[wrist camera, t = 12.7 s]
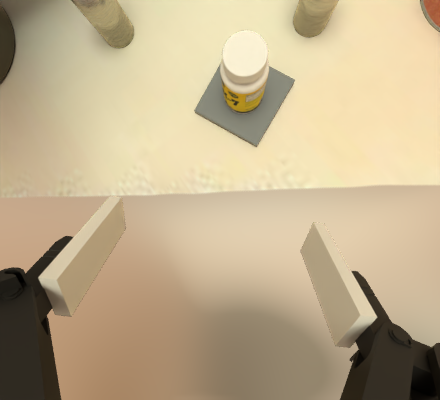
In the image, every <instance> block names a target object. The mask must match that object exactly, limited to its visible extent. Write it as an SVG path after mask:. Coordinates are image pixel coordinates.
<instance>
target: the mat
mask: <svg viewBox="0 0 440 400" xmlns="http://www.w3.org/2000/svg"><path fill="white" fill-rule="evenodd" d="M220 65H221V64H220ZM294 81H295V80H294V79H292V78H290V77H289V76H287V75H285V74H283V73H281V72H279V71H277V70H275V69H273V68H272V67H270V66H269V73H268V78H267V82H266V86H265V90H264V94H263V98H262V101H261V103H260V105H259V106H258V107H257V108H256V109H255V110H254V111H252V112H250V113H247V114H238V113H235V112H234V111H232V110H231V109H230V108H229V107H228V106H227V104H226V102H225V99H224V93H223V87H222V81H221V75H220V66H219V67H218V69H217V71H216V73H215V75H214V76H213V78H212V80H211V82H210V84H209V85H208V87H207V89H206V91H205V93H204V94H203V96H202V98H201V100H200V102H199V103H198V105H197V107H196V109H195V113H197V114H199V115H200V116H202V117H204V118H206V119H207V120H209V121H211V122H213V123H215V124H216V125H218V126H220V127H222V128H224V129H225V130H227V131H229V132H231V133H232V134H234V135H236V136H238V137H240V138H241V139H243V140H245V141H247V142H249V143H250V144H252V145H254V146H256V147H257V145H258V143H259V142H260V140H261V138H262V137H263V135H264V133H265V131H266V130H267V128H268V126H269V125H270V123H271V121H272V119H273V118H274V116H275V114H276V112H277V111H278V109H279V107H280V106H281V104H282V102H283V100H284V99H285V97H286V95H287V94H288V92H289V90H290V88H291V87H292V85H293V83H294Z"/></svg>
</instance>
